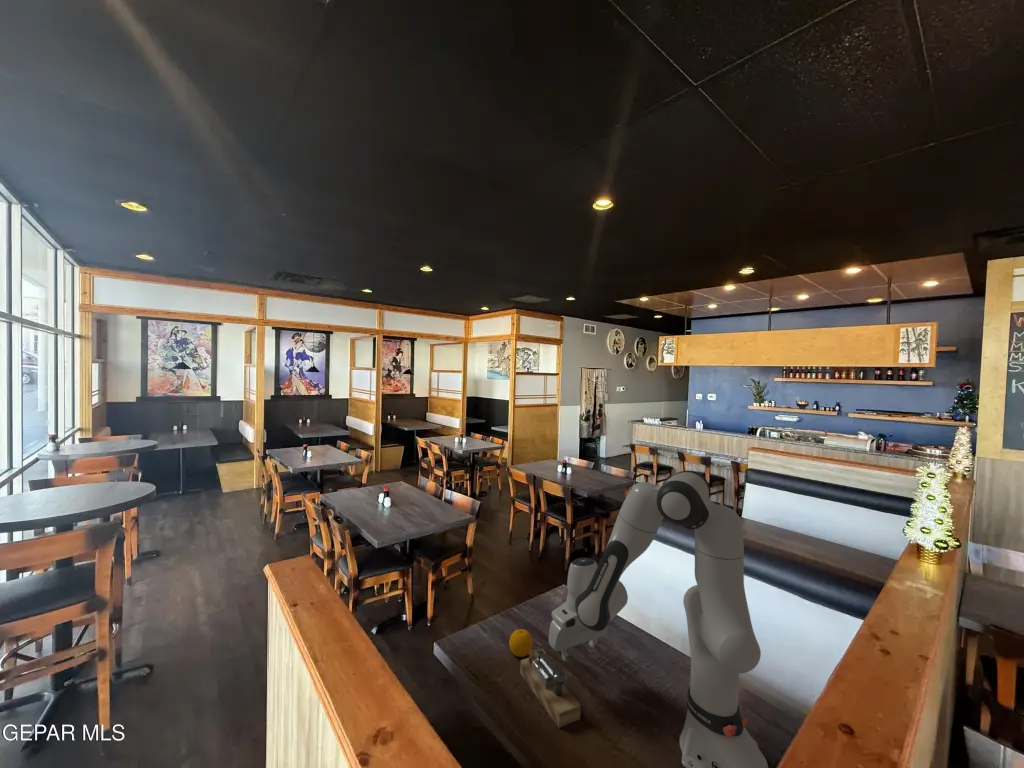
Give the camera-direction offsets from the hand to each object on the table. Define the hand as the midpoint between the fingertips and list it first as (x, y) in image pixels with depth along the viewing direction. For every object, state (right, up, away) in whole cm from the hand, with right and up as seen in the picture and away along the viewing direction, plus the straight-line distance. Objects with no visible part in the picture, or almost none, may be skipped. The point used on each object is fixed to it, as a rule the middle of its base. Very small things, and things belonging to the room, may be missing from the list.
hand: (577, 655), depth 127 cm
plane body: (-10, -8, -5) cm, 14 cm away
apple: (-17, -8, +12) cm, 23 cm away
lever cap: (-10, -4, -3) cm, 12 cm away
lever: (-9, 0, -6) cm, 11 cm away
